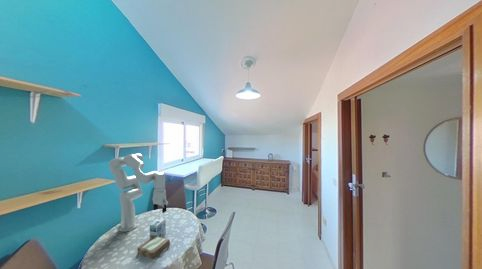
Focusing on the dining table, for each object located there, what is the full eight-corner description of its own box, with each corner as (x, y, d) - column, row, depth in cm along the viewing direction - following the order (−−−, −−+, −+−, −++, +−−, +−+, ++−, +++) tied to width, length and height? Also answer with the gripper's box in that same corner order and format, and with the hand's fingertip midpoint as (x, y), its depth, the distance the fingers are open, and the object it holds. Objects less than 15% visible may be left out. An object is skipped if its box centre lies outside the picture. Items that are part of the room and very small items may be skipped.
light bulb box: (157, 240, 127) (156, 226, 126) (149, 238, 128) (149, 224, 128) (166, 231, 137) (166, 218, 137) (158, 230, 139) (158, 217, 138)
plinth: (137, 253, 113) (137, 247, 113) (154, 240, 126) (154, 235, 126) (153, 259, 108) (153, 252, 108) (169, 245, 121) (169, 239, 121)
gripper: (147, 188, 131) (148, 210, 131) (163, 192, 123) (163, 215, 124) (156, 185, 137) (156, 206, 138) (171, 189, 130) (171, 211, 130)
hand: (159, 210), depth 131 cm, fingers open, 9 cm apart
